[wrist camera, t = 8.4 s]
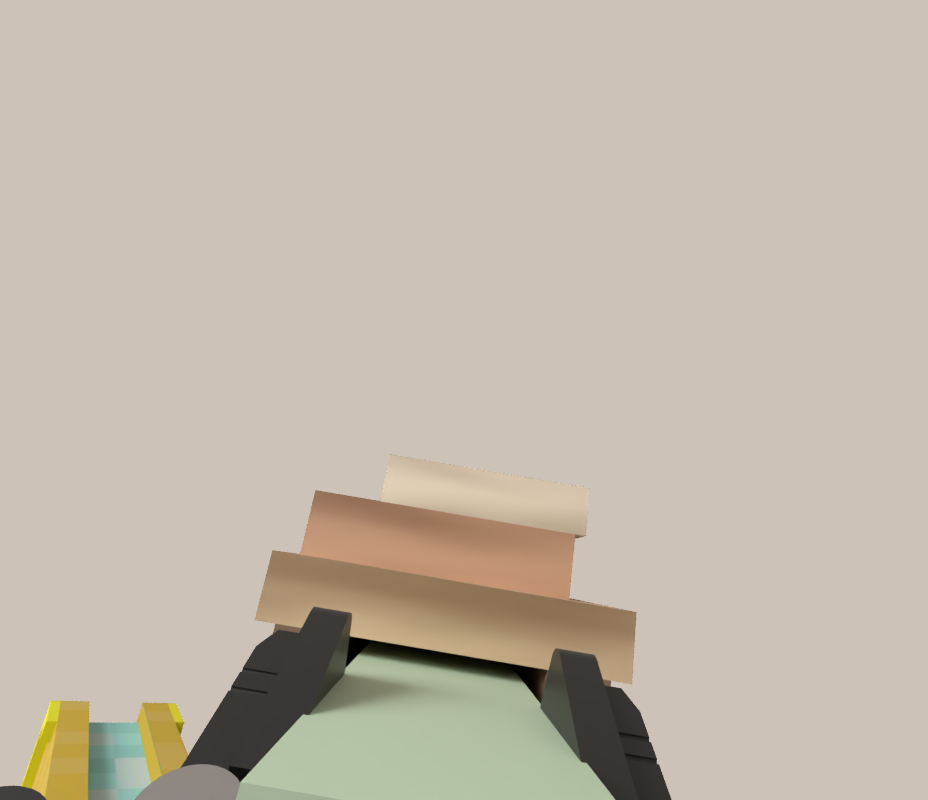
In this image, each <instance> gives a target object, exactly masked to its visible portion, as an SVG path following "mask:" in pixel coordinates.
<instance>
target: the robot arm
mask: <svg viewBox="0 0 928 800" xmlns="http://www.w3.org/2000/svg"><path fill="white" fill-rule="evenodd" d="M351 622H352V613H349V612H343V611H338V610H332V609H326V608H320V607H313V608H312V610H311V611H310V613H309V615H308V617H307V619H306V621H305V623H304V625H303V626H302V628H301V630H300V632H299V633H296V632H290V631H284V630H278V631H276V632H275V633H274V634H273V635H271V636H270V637H268V638H267V639H265V640H264V641H263V642H261V643H260V644H259V645H257V646H256V648H255V649H254V651H253V652H252V654H251V656H250V657H249V659H248V661H247V662H246V664H245V665H244V667H243V670H242V672H240V673H239V675H238V677H237V678H236V680H235V681H234V683H233V685H232V687H231V690H230V691H228V693H227V694H226V696H225V697H224V699H223V701H222V702H221V704H220V705H219V707H218V709H217V710H216V712H215V713H214V715H213V717H212V718H211V720H210V721H209V723H208V725H207V726H206V728H205V729H204V731H203V733H202V734H201V736H200V737H199V739H198V741H197V742H196V744H195V746H194V747H193V749H192V750H191V752H190V754H189V755H188V757H187V758H186V760H185V762H184V763H183V765H182V766H181V767H180V768H178V769H175V770H173V771H170V772H168V773H166V774H164V775H162V776H161V777H159V778H157V779H156V780H155V781H153V782H152V783H150V784H149V785H148V786H147V787H146V788H145V789H143V790H142V791H141V793H140V794H139V795H138V796H137V797H136V798H135V799H134V800H236V798H237V794H238V790H239V786H240V782H241V781H242V780H243V779H244V778H245V777H246V776H247V774H248V773H249V772H250V771H251V770H252V769H253V768H254V767H255V766H256V765H257V764H258V763H259V761H260V760H261V759H262V758H263V757H264V756H265V755H266V754H267V753H268V752H269V751H270V750H271V748H272V747H273V746H274V745H275V744H276V743H277V742H278V741H279V740H280V739H281V738H282V737H283V736H284V734H285V733H286V732H287V731H288V730H289V729H290V728H291V727H292V726H293V725H294V724H295V723H296V721H297V720H298V719H299V718H300V717H301V716H302V715H309V714H310V713H311V712H312V711H313V709H314V708H315V707H316V706H317V705H318V704H319V703H320V701H321V700H322V699H323V698H324V697H325V696H326V695H327V693H328V692H329V691H330V690H331V689H332V688H333V687H334V686H335V684H336V683H337V682H338V681H339V680H340V679H341V678H342V676H343V675H344V674H345V667H346V660H347V652H348V645H349V638H350V630H351ZM540 708H541V710H542V711H543V712H544V714H545V715H546V716H547V718H548V719H549V720H550V722H551V723H552V724H553V725H554V727H555V728H556V729H557V731H558V732H559V733H560V735H561V736H562V737H563V739H564V740H565V741H566V743H567V744H568V745H569V747H570V748H571V749H572V751H573V752H574V753H575V755H576V756H577V757H578V759H579V760H580V761H581V762H583V763H587V764H588V765H589V767H590V768H591V769H592V770H593V772H594V773H595V774H596V776H597V777H598V778H599V779H600V781H601V782H602V783H603V784H604V786H605V787H606V788H607V790H608V791H609V792H610V793H611V795H612V796H613V797H614V799H615V800H671V797H670V794H669V792H668V789H667V786H666V783H665V780H664V778H663V775H662V772H661V769H660V766H659V765H658V764H657V758H656V755H655V752H654V750H653V747H652V744H651V742H649V736H648V733H647V730H646V727H645V724H644V722H643V719H642V716H641V713H640V711H639V710H638V709H637V707H636V706H635V705H634V704H633V703H632V701H631V700H630V699H629V698H628V696H627V695H626V694H625V693H624V691H623V690H622V689H621V688H616V687H610V686H605V685H604V682H603V678H602V675H601V671H600V668H599V665H598V661H597V658H596V656H595V655H593V654H588V653H582V652H576V651H570V650H564V649H558V648H556V649H555V650H554V652H553V654H552V658H551V662H550V666H549V671H548V675H547V679H546V684H545V688H544V692H543V697H542V701H541V706H540ZM0 800H46V798H45V797H44V796H43V795H42V794H41V793H40V792H38V791H36V790H34V789H32V788H27V787H23V786H3V787H0Z"/></svg>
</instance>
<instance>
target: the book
mask: <svg viewBox="0 0 928 800" xmlns="http://www.w3.org/2000/svg"><path fill="white" fill-rule="evenodd" d="M183 724H184V721H183V719H182V717H181V715H180V712H179V710H178V708H177V705H176V704H173V703H171V704H170V703H142V707H141V710H140V713H139V716H138V719H137V723H89V702H83V701H80V702H79V701H51V702H50V705H49V708H48V711H47V714H46V716H45V719H44V722H43V725H42V728H41V731H40V734H39V737H38V740H37V742H36V745H35V748H34V751H33V754H32V757H31V760H30V763H29V766H28V768H27V771H26V774H25V777H24V780H23V783H22V785H21V786H23V787H27V788H32V789H34V790H36V791H38V792H40V793H41V794H42V795H43V796H44V797H45V798H46V800H134V799H135V798H136V797H137V796H138V795H139V794H140V793H141V791H142V790H143V789H145V788H146V787H147V786H148V785H149V784H150V783H152V782H153V781H155V780H156V779H157V778H159V777H161V776H162V775H164V774H166V773H168V772H170V771H173V770H175V769H178V768H180V767H181V766H182V765H183V763H184V762H185V760H186V758H187V757H188V754H187V751H186V749H185V746H184V744H183V741H182V739H181V736H180V734H181V731H182V727H183Z"/></svg>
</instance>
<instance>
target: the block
mask: <svg viewBox="0 0 928 800" xmlns="http://www.w3.org/2000/svg"><path fill="white" fill-rule="evenodd" d="M540 706H541V704H540V703H539V701H538V700H537V699H536V698H535V696H534V695H533V694H532V692H531V691H530V690H529V689H528V687H527V686H526V685H525V683H524V682H523V681H522V680H521V678H520V677H519V676H518V675H517V673H516V672H515V671H514V669H513V668H512V667H511V666H510V664H509V663H504V662H498V661H492V660H486V659H481V658H475V657H469V656H463V655H457V654H451V653H445V652H439V651H434V650H428V649H422V648H416V647H410V646H404V645H398V644H392V643H387V642H381V641H375V640H371V641H370V642H369V644H368V645H367V646H366V647H365V648H364V649H363V650H362V651H361V652H360V653H359V654H358V655H357V657H356V658H355V659H354V660H353V661H352V662H351V663H350V664H349V665H348V666H347V667H346V668H345V674H344V675H343V676H342V678H341V679H340V680H339V681H338V682H337V683H336V684H335V686H334V687H333V688H332V689H331V690H330V691H329V692H328V693H327V695H326V696H325V697H324V698H323V699H322V700H321V701H320V703H319V704H318V705H317V706H316V707H315V708H314V709H313V711H312V712H311V713H310V714H309V715H302V716H301V717H300V718H299V719H298V720H297V721H296V723H295V724H294V725H293V726H292V727H291V728H290V729H289V730H288V731H287V732H286V733H285V734H284V736H283V737H282V738H281V739H280V740H279V741H278V742H277V743H276V744H275V745H274V746H273V747H272V748H271V750H270V751H269V752H268V753H267V754H266V755H265V756H264V757H263V758H262V759H261V760H260V761H259V763H258V764H257V765H256V766H255V767H254V768H253V769H252V770H251V771H250V772H249V773H248V774H247V776H246V777H245V778H244V779H243V780H242V781H241V782H240V786H239V790H238V794H237V798H236V800H615V799H614V797H613V796H612V795H611V793H610V792H609V791H608V790H607V788H606V787H605V786H604V784H603V783H602V782H601V781H600V779H599V778H598V777H597V776H596V774H595V773H594V772H593V770H592V769H591V768H590V767H589V765H588V764H587V763H583V762H581V761H580V760H579V759H578V757H577V756H576V755H575V753H574V752H573V751H572V749H571V748H570V747H569V745H568V744H567V743H566V741H565V740H564V739H563V737H562V736H561V735H560V733H559V732H558V731H557V729H556V728H555V727H554V725H553V724H552V723H551V722H550V720H549V719H548V718H547V716H546V715H545V714H544V712H543V711H542V710H541V708H540Z"/></svg>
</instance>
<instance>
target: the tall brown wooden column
mask: <svg viewBox="0 0 928 800" xmlns="http://www.w3.org/2000/svg"><path fill="white" fill-rule="evenodd" d="M589 492H590V488H586V487H580V486H574V485H569V484H562V483H556V482H551V481H545V480H539V479H533V478H527V477H521V476H515V475H509V474H504V473H497V472H492V471H486V470H480V469H474V468H468V467H462V466H456V465H451V464H445V463H439V462H432V461H427V460H421V459H415V458H409V457H403V456H397V455H392V454H390V457H389V463H388V467H387V472H386V477H385V482H384V487H383V492H382V496H381V501H376V500H370V499H364V498H357V497H352V496H346V495H340V494H334V493H328V492H322V491H315V495H314V499H313V503H312V507H311V512H310V515H309V519H308V524H307V528H306V532H305V536H304V540H303V544H302V548H301V552H300V554H297V553H288V552H280V551H272V555H271V559H270V563H269V567H268V570H267V574H266V578H265V582H264V586H263V590H262V594H261V598H260V601H259V605H258V610H257V613H256V617H255V620H258V621H263V622H269V623H275V628H274V632H273V634H274V633H275V632H276V631H278V630H284V631H290V632H296V633H299V632H300V630H301V628H302V626H303V625H304V623H305V621H306V619H307V617H308V615H309V613H310V611H311V610H312V608H313V607H320V608H326V609H332V610H338V611H343V612H349V613H352V622H351V630H350V638H349V645H348V652H347V660H346V667H347V666H348V665H349V664H350V663H351V662H352V661H353V660H354V659H355V658H356V657H357V655H358V654H359V653H360V652H361V651H362V650H363V649H364V648H365V647H366V646H367V645H368V644H369V642H370V641H371V640H375V641H381V642H387V643H392V644H398V645H404V646H410V647H416V648H422V649H428V650H434V651H439V652H445V653H451V654H457V655H463V656H469V657H475V658H481V659H486V660H492V661H498V662H504V663H509V664H510V666H511V667H512V668H513V669H514V671H515V672H516V673H517V675H518V676H519V677H520V678H521V680H522V681H523V682H524V683H525V685H526V686H527V687H528V689H529V690H530V691H531V692H532V694H533V695H534V696H535V698H536V699H537V700H538V701H539V703H540V704H541V701H542V697H543V692H544V688H545V684H546V679H547V675H548V671H549V666H550V662H551V658H552V654H553V652H554V650H555V649H556V648H558V649H564V650H570V651H576V652H582V653H588V654H593V655H595V656H596V658H597V661H598V665H599V668H600V671H601V675H602V678H603V682H604V685H605V686H610V685H611V681H616V682H622V683H628V684H632V673H633V658H634V642H635V626H636V612H632V611H628V610H623V609H618V608H613V607H608V606H603V605H598V604H594V603H589V602H584V601H580V600H575V599H570V598H569V593H570V583H571V573H572V562H573V552H574V542H575V538H579V537H584V536H585V535H586V524H587V515H588V503H589ZM346 667H345V668H346Z"/></svg>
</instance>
